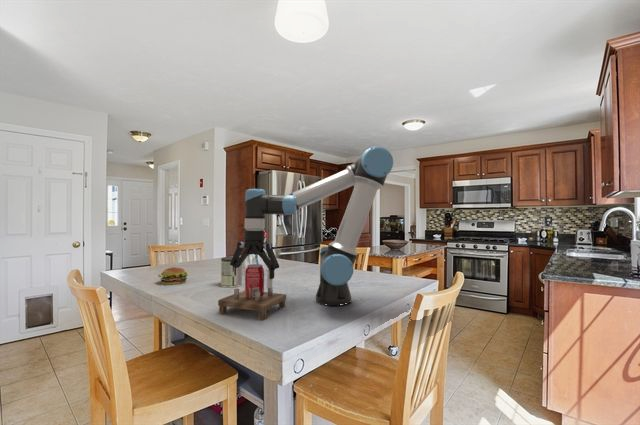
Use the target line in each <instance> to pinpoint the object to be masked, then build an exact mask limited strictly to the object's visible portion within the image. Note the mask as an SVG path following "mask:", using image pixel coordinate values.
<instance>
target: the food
mask: <svg viewBox="0 0 640 425" xmlns="http://www.w3.org/2000/svg"><path fill="white" fill-rule="evenodd" d="M157 276H158V278H160V283H161V284H162V285H165V286H166V285H168V286H169V285H171V286H172V285H173V284H175V285H179V284H180V285H181V284H183V283H184V284H185V283H186V281H187V279H188V278H187V277H188V272H187V271H185V269H184V268H182V267H176V266H175V267H169V268H166V269H164V270H163V271H162V272H161V273H160V274H157ZM173 286H174V285H173Z"/></svg>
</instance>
